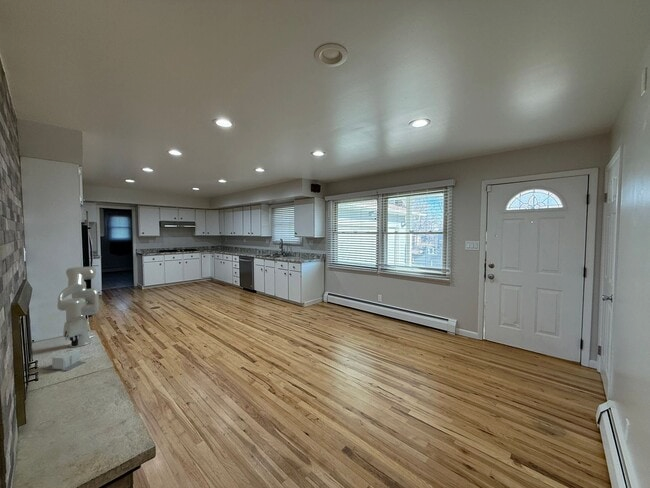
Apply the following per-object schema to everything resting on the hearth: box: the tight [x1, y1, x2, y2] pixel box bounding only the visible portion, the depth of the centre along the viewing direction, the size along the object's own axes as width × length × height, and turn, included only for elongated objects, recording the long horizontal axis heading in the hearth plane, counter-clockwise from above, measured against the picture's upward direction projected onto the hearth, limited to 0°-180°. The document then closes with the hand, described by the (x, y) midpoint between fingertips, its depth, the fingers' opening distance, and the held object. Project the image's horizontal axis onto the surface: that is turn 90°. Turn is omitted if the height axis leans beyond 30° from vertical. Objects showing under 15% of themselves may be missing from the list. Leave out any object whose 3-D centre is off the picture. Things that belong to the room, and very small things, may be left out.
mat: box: [42, 360, 87, 372], centre depth 180 cm, size 12×18×1 cm, turn 80°
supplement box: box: [51, 349, 82, 369], centre depth 180 cm, size 7×7×13 cm
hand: (74, 345), depth 187 cm, fingers closed
